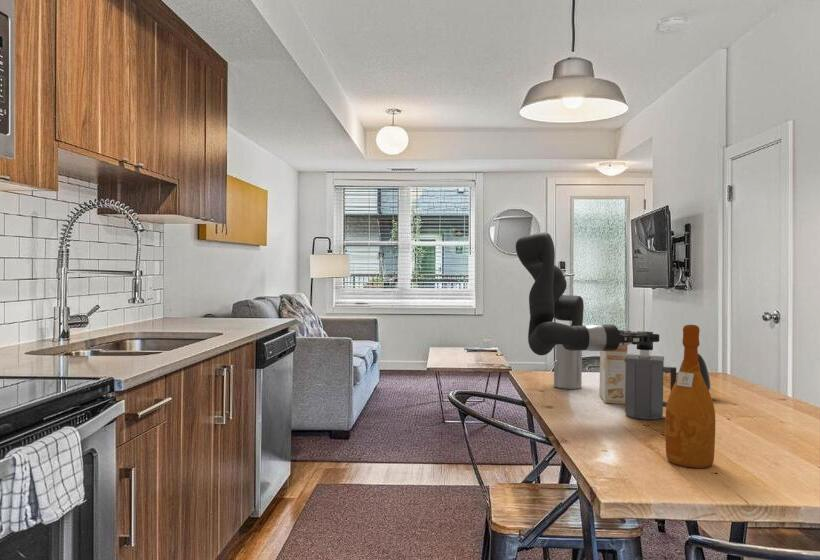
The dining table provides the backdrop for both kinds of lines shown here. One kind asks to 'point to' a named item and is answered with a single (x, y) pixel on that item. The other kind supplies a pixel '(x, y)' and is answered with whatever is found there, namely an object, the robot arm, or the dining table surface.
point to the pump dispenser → (702, 371)
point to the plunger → (645, 346)
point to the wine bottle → (690, 411)
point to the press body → (645, 386)
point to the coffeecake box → (613, 375)
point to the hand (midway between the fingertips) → (653, 337)
